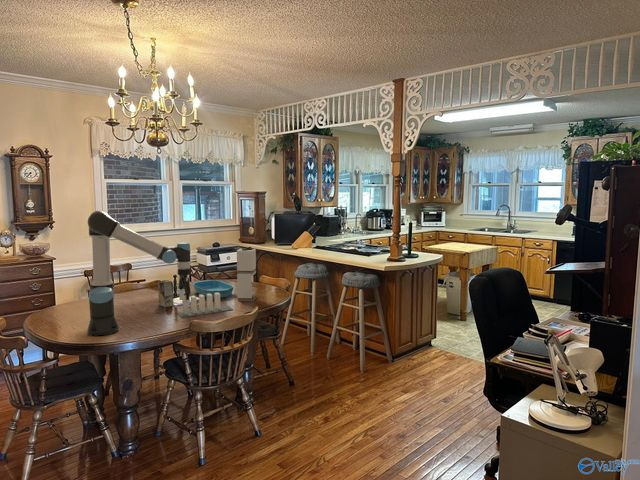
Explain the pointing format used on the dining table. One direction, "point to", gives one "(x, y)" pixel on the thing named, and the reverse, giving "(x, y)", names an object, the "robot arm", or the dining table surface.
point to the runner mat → (223, 308)
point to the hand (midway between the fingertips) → (184, 302)
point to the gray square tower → (246, 274)
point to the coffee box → (165, 293)
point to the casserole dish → (213, 288)
